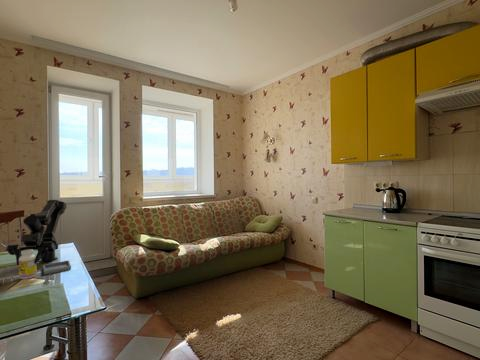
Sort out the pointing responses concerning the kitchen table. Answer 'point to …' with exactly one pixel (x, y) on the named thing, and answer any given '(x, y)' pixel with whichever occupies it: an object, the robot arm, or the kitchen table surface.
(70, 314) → the kitchen table surface
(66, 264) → the tray
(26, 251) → the supplement bottle
